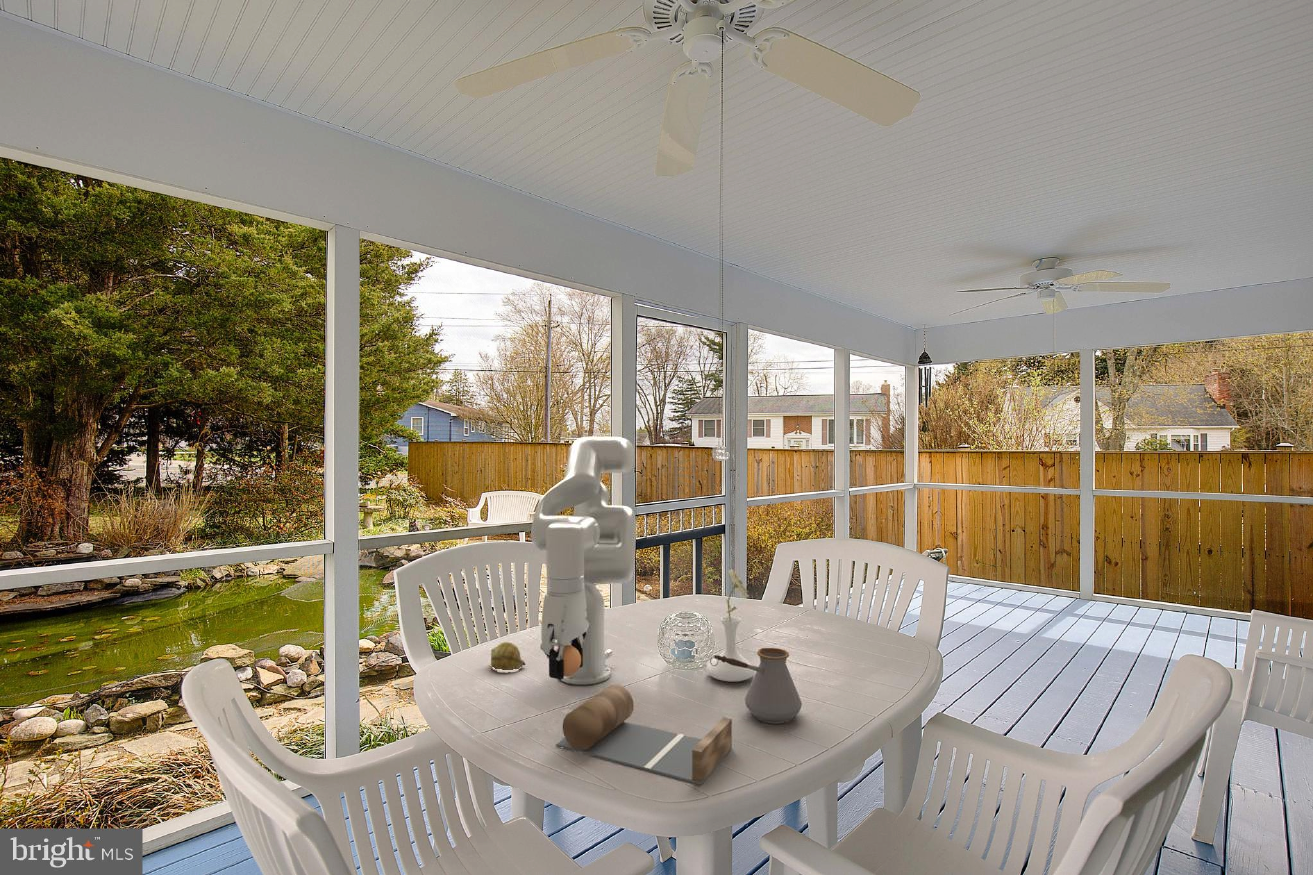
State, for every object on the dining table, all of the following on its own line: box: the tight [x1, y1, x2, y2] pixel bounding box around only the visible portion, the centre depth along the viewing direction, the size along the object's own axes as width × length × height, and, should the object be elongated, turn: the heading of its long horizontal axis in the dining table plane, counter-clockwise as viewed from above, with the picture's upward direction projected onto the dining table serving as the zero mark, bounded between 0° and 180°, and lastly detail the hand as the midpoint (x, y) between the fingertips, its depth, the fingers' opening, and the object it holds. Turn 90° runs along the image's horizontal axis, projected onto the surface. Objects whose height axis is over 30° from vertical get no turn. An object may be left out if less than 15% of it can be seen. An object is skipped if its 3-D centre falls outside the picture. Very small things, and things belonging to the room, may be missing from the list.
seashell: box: [490, 641, 527, 670], centre depth 160 cm, size 10×7×8 cm
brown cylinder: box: [562, 684, 634, 751], centre depth 123 cm, size 14×7×7 cm, turn 153°
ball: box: [554, 645, 581, 676], centre depth 131 cm, size 6×6×6 cm
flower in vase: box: [706, 568, 756, 683], centre depth 154 cm, size 13×11×25 cm
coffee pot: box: [709, 647, 803, 724], centre depth 130 cm, size 21×12×15 cm, turn 123°
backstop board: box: [692, 716, 733, 782], centre depth 112 cm, size 14×2×5 cm, turn 153°
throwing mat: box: [555, 721, 733, 786], centre depth 119 cm, size 14×29×1 cm, turn 63°
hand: (566, 671), depth 131 cm, fingers closed on ball, 5 cm apart
